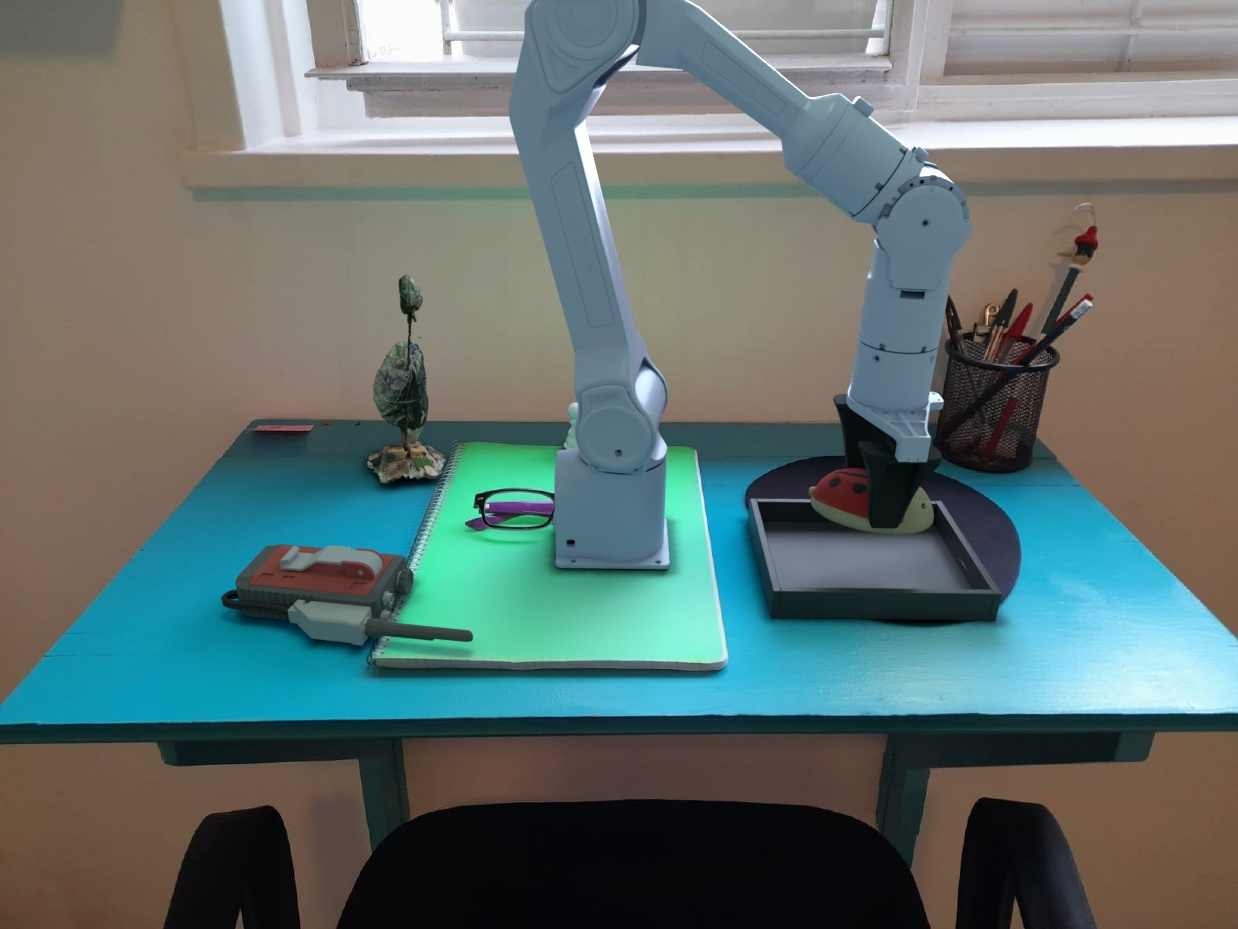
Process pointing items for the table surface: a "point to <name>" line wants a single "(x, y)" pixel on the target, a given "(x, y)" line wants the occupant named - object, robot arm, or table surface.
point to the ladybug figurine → (864, 503)
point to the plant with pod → (405, 402)
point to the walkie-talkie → (331, 593)
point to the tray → (866, 568)
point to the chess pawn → (573, 414)
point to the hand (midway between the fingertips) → (871, 502)
